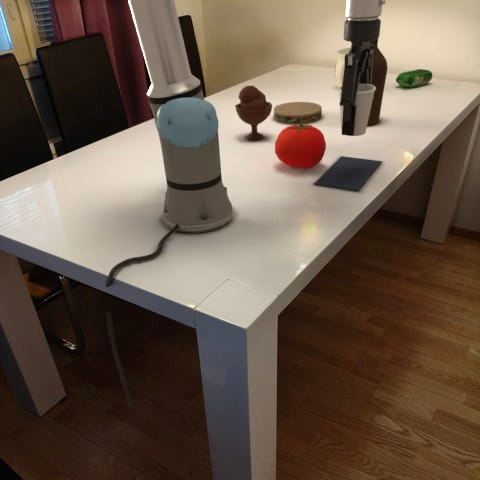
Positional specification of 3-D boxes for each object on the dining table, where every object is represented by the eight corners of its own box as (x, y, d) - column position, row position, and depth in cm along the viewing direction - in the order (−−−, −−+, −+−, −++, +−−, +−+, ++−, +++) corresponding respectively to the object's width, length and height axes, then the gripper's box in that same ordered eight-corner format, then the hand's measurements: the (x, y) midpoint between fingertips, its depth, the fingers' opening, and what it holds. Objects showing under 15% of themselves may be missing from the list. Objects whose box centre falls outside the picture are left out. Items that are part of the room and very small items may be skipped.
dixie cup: (336, 138, 114) (338, 92, 108) (335, 127, 121) (338, 83, 115) (372, 137, 113) (377, 91, 107) (370, 126, 120) (374, 82, 113)
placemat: (358, 191, 114) (358, 190, 114) (314, 184, 118) (314, 183, 118) (381, 162, 128) (381, 161, 127) (341, 157, 132) (341, 156, 132)
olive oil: (366, 115, 162) (375, 28, 146) (387, 122, 154) (399, 31, 139) (340, 120, 158) (346, 32, 143) (361, 129, 150) (370, 36, 135)
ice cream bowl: (270, 144, 144) (269, 89, 135) (233, 143, 146) (229, 89, 137) (275, 132, 152) (274, 80, 143) (240, 132, 154) (237, 80, 145)
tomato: (333, 163, 129) (335, 121, 123) (311, 179, 121) (312, 135, 115) (289, 155, 136) (289, 115, 129) (265, 170, 128) (265, 128, 121)
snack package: (391, 87, 189) (393, 72, 186) (420, 80, 195) (422, 66, 191) (404, 91, 184) (406, 75, 181) (434, 84, 190) (437, 69, 186)
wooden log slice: (276, 126, 157) (276, 116, 156) (271, 112, 170) (271, 103, 168) (325, 123, 157) (325, 113, 155) (317, 109, 170) (317, 100, 168)
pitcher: (325, 94, 185) (327, 54, 177) (341, 83, 197) (344, 45, 189) (353, 96, 181) (357, 55, 172) (368, 85, 193) (372, 46, 185)
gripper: (365, 26, 94) (355, 144, 108) (393, 11, 108) (381, 118, 122) (328, 25, 97) (323, 141, 111) (360, 11, 111) (352, 115, 125)
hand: (353, 129), depth 116 cm, fingers closed on dixie cup, 8 cm apart
